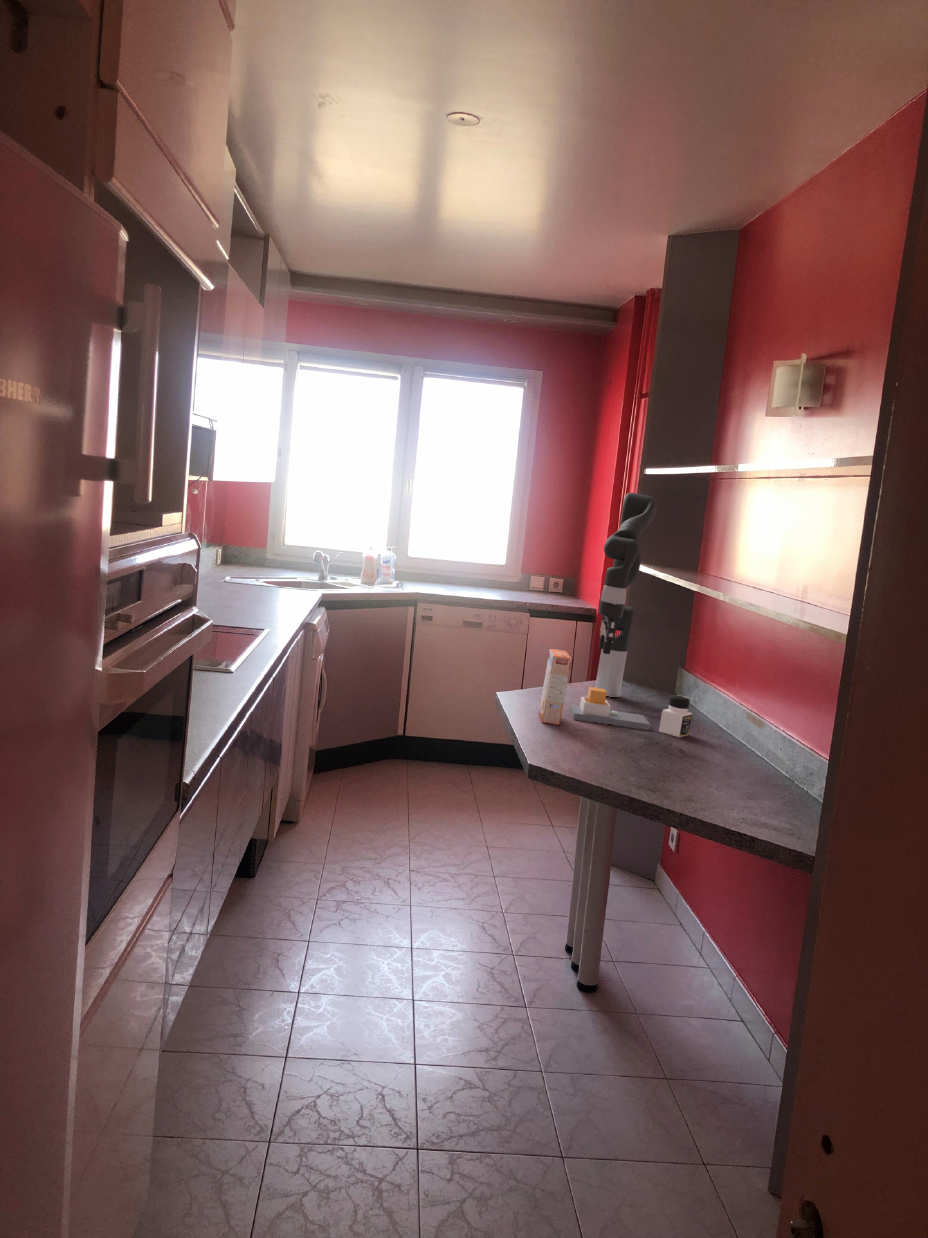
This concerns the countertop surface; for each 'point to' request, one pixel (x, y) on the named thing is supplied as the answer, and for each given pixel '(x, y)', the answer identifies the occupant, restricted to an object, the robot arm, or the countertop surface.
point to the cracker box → (554, 686)
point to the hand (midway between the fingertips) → (604, 651)
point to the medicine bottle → (676, 717)
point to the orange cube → (596, 695)
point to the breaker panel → (607, 715)
